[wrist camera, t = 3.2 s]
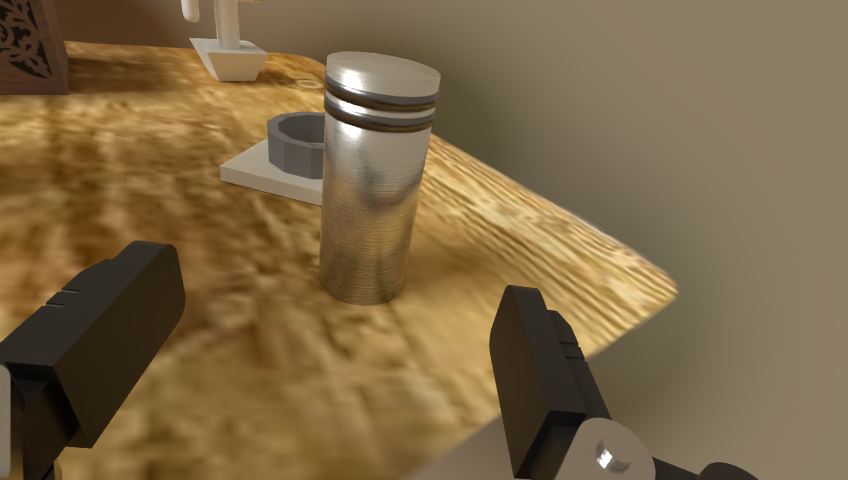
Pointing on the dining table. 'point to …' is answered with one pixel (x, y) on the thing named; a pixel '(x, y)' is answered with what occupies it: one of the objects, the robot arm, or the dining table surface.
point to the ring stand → (284, 159)
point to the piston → (372, 171)
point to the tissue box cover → (31, 49)
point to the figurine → (226, 44)
